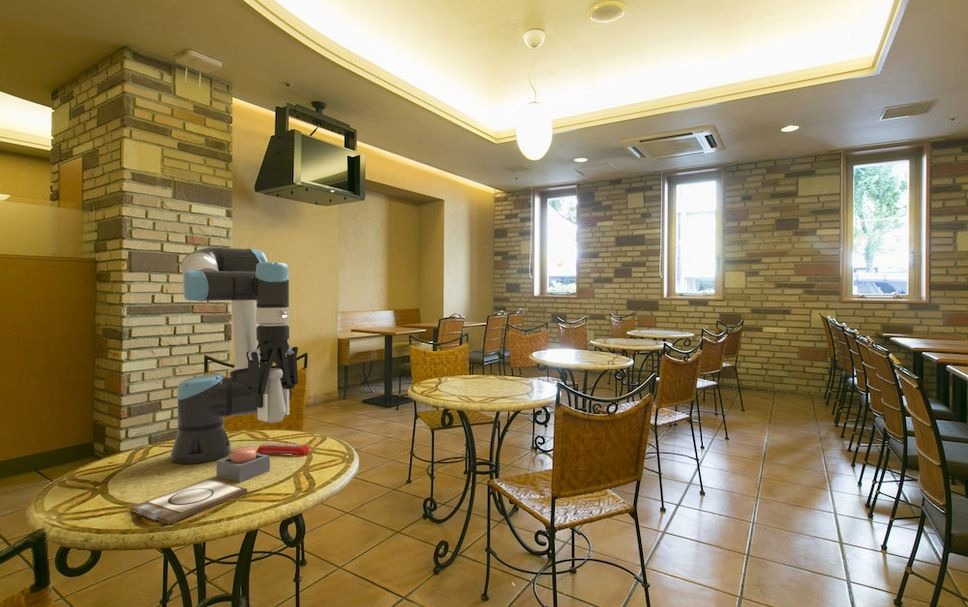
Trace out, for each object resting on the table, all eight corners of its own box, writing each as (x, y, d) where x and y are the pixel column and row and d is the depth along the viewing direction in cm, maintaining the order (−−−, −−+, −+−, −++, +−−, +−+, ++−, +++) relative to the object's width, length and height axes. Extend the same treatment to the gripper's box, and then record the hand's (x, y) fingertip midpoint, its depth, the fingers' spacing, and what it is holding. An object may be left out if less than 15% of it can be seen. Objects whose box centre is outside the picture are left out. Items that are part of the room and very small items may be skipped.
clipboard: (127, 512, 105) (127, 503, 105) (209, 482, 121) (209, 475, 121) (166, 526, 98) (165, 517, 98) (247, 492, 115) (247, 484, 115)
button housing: (216, 476, 126) (216, 461, 126) (247, 465, 134) (247, 451, 134) (239, 482, 122) (239, 466, 122) (269, 470, 130) (269, 455, 130)
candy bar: (254, 455, 143) (254, 445, 143) (261, 451, 147) (261, 441, 147) (305, 457, 141) (305, 447, 141) (311, 453, 145) (311, 443, 145)
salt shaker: (291, 418, 122) (291, 367, 122) (274, 424, 117) (274, 371, 117) (273, 416, 124) (272, 366, 124) (255, 422, 119) (255, 369, 119)
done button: (225, 463, 126) (225, 452, 126) (246, 457, 132) (246, 446, 132) (240, 467, 124) (240, 455, 123) (261, 460, 129) (261, 449, 129)
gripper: (249, 327, 110) (250, 428, 111) (313, 322, 127) (313, 410, 127) (228, 326, 113) (229, 424, 114) (292, 322, 130) (293, 407, 131)
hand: (273, 417), depth 121 cm, fingers closed on salt shaker, 6 cm apart
